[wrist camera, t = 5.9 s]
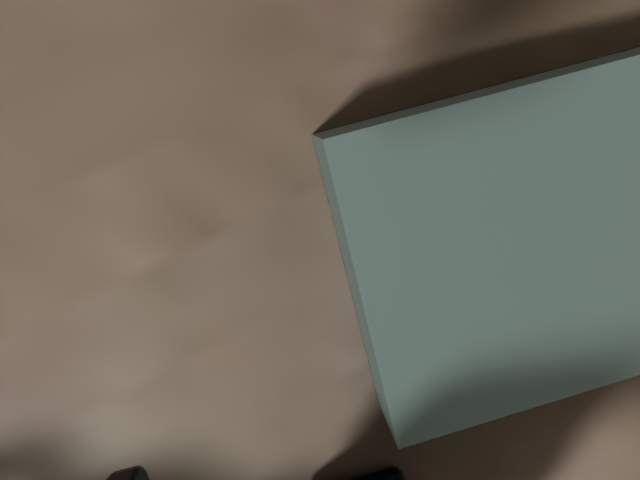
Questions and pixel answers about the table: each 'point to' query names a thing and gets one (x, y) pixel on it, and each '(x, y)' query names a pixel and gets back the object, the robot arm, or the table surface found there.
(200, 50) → the table surface
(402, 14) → the table surface
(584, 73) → the deck
